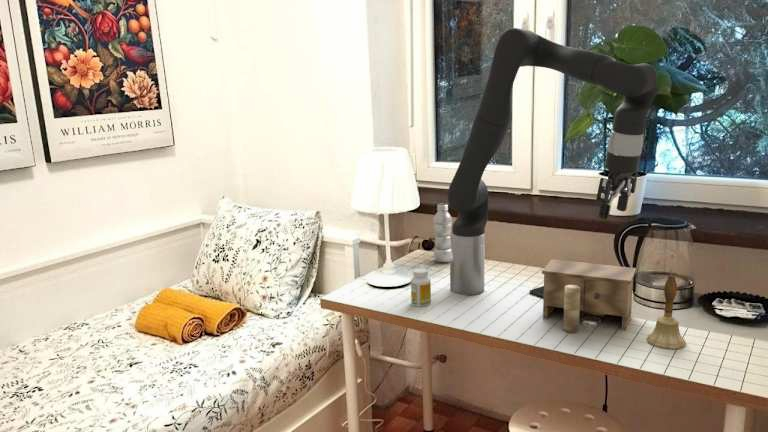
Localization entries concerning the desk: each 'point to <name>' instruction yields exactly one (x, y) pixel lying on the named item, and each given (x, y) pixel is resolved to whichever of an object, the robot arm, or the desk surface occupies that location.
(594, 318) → the token
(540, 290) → the phone
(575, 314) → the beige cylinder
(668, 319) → the hand bell
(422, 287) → the supplement bottle
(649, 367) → the desk surface
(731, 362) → the desk surface
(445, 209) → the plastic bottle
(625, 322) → the cabinet
